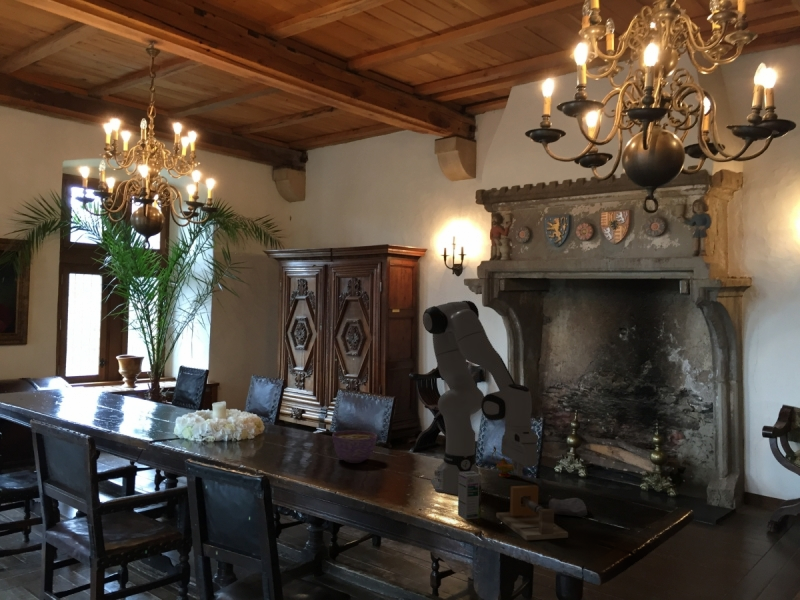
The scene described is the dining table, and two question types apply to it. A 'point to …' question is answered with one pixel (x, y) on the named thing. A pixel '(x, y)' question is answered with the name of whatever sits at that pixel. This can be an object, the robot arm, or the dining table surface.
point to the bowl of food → (354, 445)
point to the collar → (516, 499)
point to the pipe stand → (533, 522)
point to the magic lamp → (503, 466)
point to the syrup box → (469, 495)
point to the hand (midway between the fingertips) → (517, 474)
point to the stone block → (568, 507)
